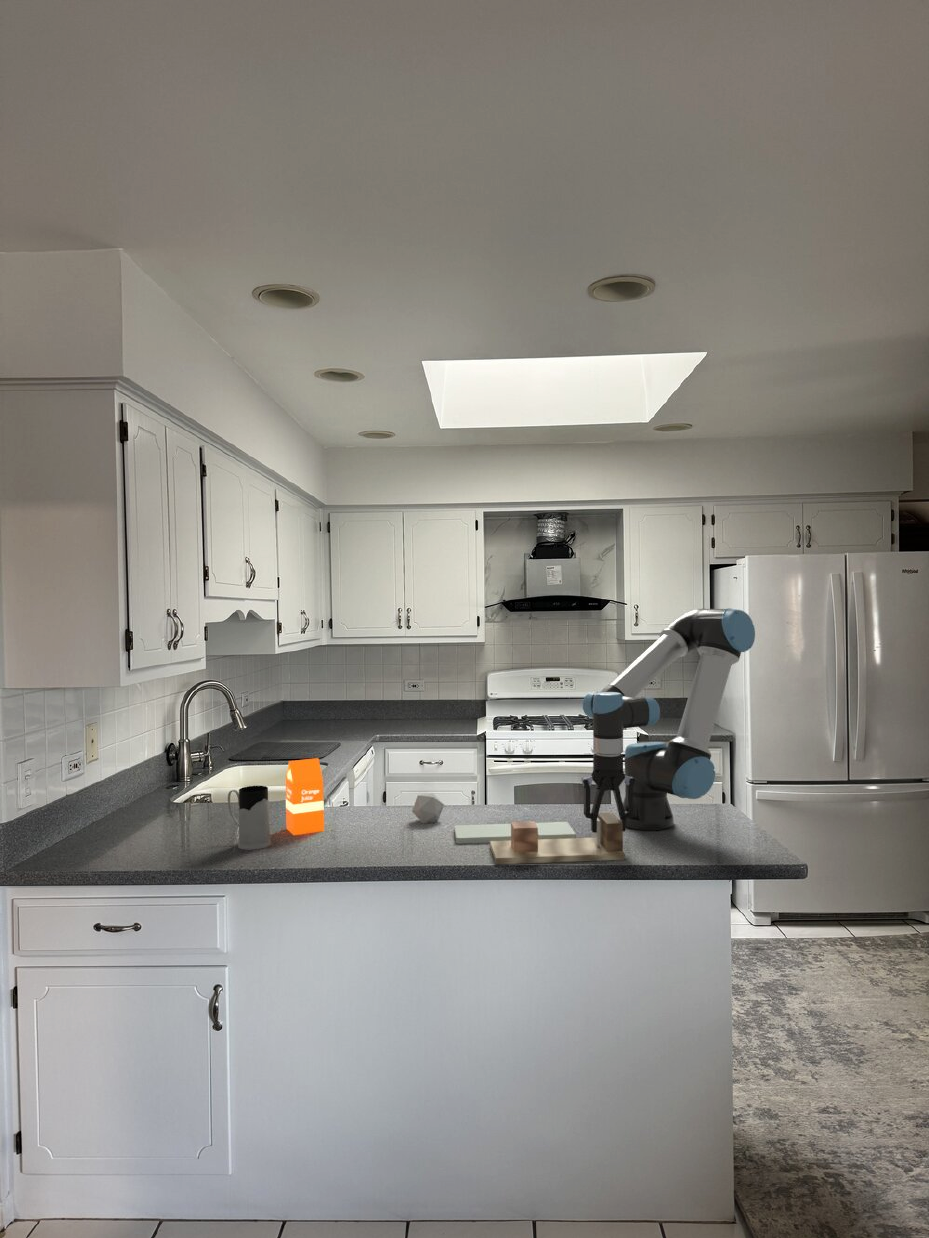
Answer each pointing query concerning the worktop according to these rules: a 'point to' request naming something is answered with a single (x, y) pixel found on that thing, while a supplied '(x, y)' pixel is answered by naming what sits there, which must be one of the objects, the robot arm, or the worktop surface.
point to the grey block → (427, 808)
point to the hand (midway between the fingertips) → (608, 844)
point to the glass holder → (252, 817)
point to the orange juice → (304, 797)
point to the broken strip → (509, 832)
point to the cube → (524, 836)
